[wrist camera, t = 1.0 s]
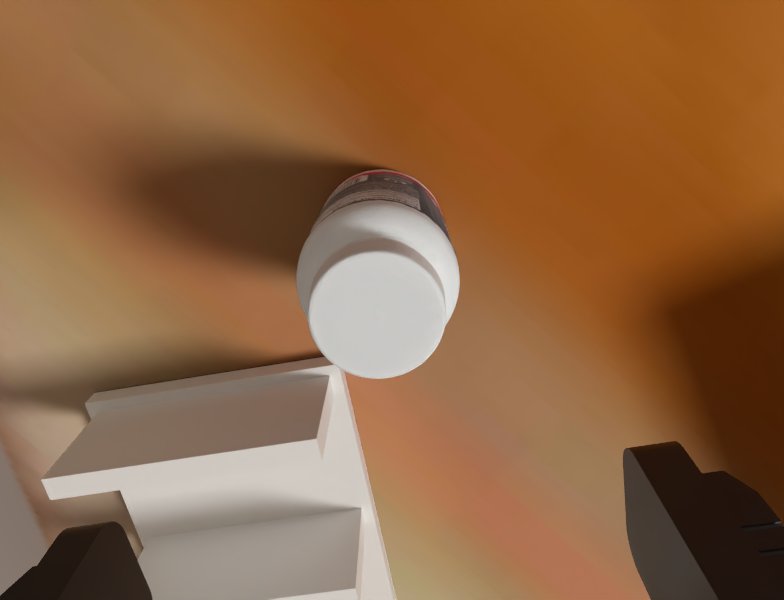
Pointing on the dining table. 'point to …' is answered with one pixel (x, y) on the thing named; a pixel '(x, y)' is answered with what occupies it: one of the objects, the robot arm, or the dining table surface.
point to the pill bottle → (378, 275)
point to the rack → (238, 484)
